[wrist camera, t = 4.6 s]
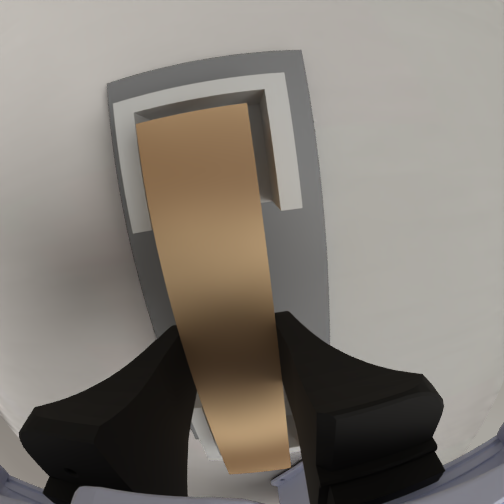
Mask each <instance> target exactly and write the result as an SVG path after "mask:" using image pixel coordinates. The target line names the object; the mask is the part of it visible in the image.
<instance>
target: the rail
mask: <svg viewBox="0 0 504 504" xmlns="http://www.w3.org/2000/svg"><path fill="white" fill-rule="evenodd" d="M136 131H137V139H138V146H139V153H140V160H141V166H142V172H143V178H144V184H145V190H146V196H147V201H148V207H149V212H150V217H151V222H152V227H153V232H154V236H155V241H156V246H157V250H158V255H159V259H160V263H161V267H162V272H163V276H164V280H165V284H166V288H167V292H168V296H169V299H170V303H171V307H172V311H173V314H174V318H175V321H176V325H177V328H178V332H179V335H180V339H181V342H182V345H183V349H184V352H185V355H186V358H187V361H188V365H189V368H190V371H191V374H192V377H193V380H194V383H195V386H196V389H197V392H198V395H199V398H200V401H201V403H202V406H203V409H204V412H205V415H206V417H207V420H208V423H209V425H210V428H211V431H212V433H213V436H214V438H215V441H216V443H217V446H218V448H219V451H220V453H221V456H222V458H223V461H224V463H225V465H226V468H227V470H228V472H229V474H242V473H253V472H263V471H272V470H279V469H286V468H291V462H290V452H289V442H288V432H287V422H286V412H285V403H284V393H283V384H282V376H281V366H280V357H279V348H278V339H277V331H276V322H275V313H274V305H273V297H272V288H271V280H270V272H269V264H268V256H267V248H266V240H265V232H264V224H263V216H262V209H261V201H260V193H259V186H258V179H257V171H256V164H255V156H254V149H253V142H252V135H251V128H250V121H249V114H248V107H247V103H242V104H235V105H228V106H221V107H214V108H208V109H203V110H197V111H192V112H186V113H181V114H176V115H172V116H167V117H163V118H158V119H154V120H150V121H146V122H142V123H138V124H136Z"/></svg>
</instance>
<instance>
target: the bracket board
mask: <svg viewBox="0 0 504 504" xmlns="http://www.w3.org/2000/svg"><path fill="white" fill-rule="evenodd" d="M107 93H108V106H109V117H110V126H111V135H112V143H113V151H114V158H115V165H116V171H117V178H118V184H119V190H120V195H121V201H122V206H123V211H124V216H125V221H126V226H127V230H128V235H129V239H130V244H131V248H132V252H133V257H134V261H135V265H136V269H137V273H138V276H139V280H140V284H141V288H142V291H143V295H144V298H145V302H146V305H147V309H148V312H149V315H150V319H151V322H152V325H153V328H154V331H155V335H156V338H157V339H158V338H159V337H160V336H161V335H162V334H163V333H164V332H165V331H166V330H167V329H168V328H170V327H171V326H172V325H176V321H175V318H174V314H173V311H172V307H171V303H170V299H169V296H168V292H167V288H166V284H165V280H164V276H163V272H162V267H161V263H160V259H159V255H158V250H157V246H156V241H155V236H154V232H153V227H152V222H151V217H150V212H149V207H148V201H147V196H146V190H145V184H144V178H143V172H142V166H141V160H140V153H139V146H138V139H137V131H136V124H138V123H142V122H146V121H150V120H154V119H158V118H163V117H167V116H172V115H176V114H181V113H186V112H192V111H197V110H203V109H208V108H214V107H221V106H228V105H235V104H242V103H247V107H248V114H249V121H250V128H251V135H252V142H253V149H254V156H255V164H256V171H257V179H258V186H259V193H260V201H261V209H262V216H263V224H264V232H265V240H266V248H267V256H268V264H269V272H270V280H271V288H272V297H273V305H274V313H276V312H283V311H289V312H290V313H292V314H293V315H294V317H295V318H296V319H297V320H299V321H300V322H301V323H302V324H303V325H304V326H305V327H306V328H307V329H309V330H310V331H311V332H312V333H313V334H315V335H316V336H317V337H319V338H320V339H321V340H323V341H324V342H326V343H327V344H329V345H330V315H329V285H328V264H327V247H326V233H325V220H324V208H323V197H322V187H321V177H320V168H319V160H318V151H317V143H316V136H315V129H314V121H313V115H312V108H311V102H310V95H309V89H308V83H307V78H306V72H305V66H304V61H303V56H302V51H301V50H285V51H268V52H256V53H246V54H237V55H229V56H222V57H215V58H209V59H203V60H197V61H192V62H187V63H182V64H177V65H173V66H168V67H164V68H160V69H156V70H152V71H148V72H144V73H140V74H137V75H133V76H130V77H127V78H123V79H120V80H117V81H114V82H111V83H108V84H107ZM282 384H283V383H282ZM283 393H284V403H285V412H286V422H287V432H288V442H289V452H290V453H293V452H299V451H301V450H300V445H299V440H298V434H297V429H296V425H295V421H294V418H293V415H292V412H291V408H290V405H289V402H288V399H287V396H286V392H285V389H284V386H283ZM190 427H191V430H192V432H193V434H194V436H195V439H199V440H200V442H201V444H202V447H203V449H204V451H205V453H206V455H207V458H208V460H209V461H214V460H223V458H222V456H221V453H220V451H219V448H218V446H217V443H216V441H215V438H214V436H213V433H212V431H211V428H210V425H209V423H208V420H207V417H206V415H205V412H204V409H203V406H202V403H201V401H200V398H199V395H198V392H197V395H196V400H195V405H194V410H193V416H192V421H191V426H190Z"/></svg>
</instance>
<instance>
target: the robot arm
mask: <svg viewBox="0 0 504 504" xmlns="http://www.w3.org/2000/svg"><path fill="white" fill-rule="evenodd" d="M275 322H276V331H277V339H278V348H279V357H280V366H281V376H282V383H283V386H284V389H285V392H286V396H287V399H288V402H289V405H290V408H291V412H292V415H293V418H294V421H295V425H296V429H297V434H298V440H299V445H300V450H301V456H302V462H300V463H299V464H297V465H296V466H294V467H292V468H291V469H289V470H288V471H286V472H285V473H283V474H281V475H280V476H278V477H276V478H275V479H273V480H272V481H271V485H273V486H277V487H278V494H279V502H280V504H504V423H503V424H502V426H501V427H500V429H499V431H498V433H497V435H496V436H495V437H493V438H492V439H490V440H488V441H487V442H485V443H483V444H482V445H480V446H478V447H477V448H475V449H473V450H471V451H470V452H468V453H466V454H464V455H462V456H461V457H459V458H457V459H455V460H453V461H451V462H449V463H447V464H445V465H442V463H441V462H440V460H439V458H438V456H437V455H436V453H435V451H436V450H437V444H436V442H435V441H434V439H433V434H434V432H435V430H436V428H437V425H438V423H439V420H440V418H441V415H442V412H443V408H444V404H443V399H442V398H441V396H440V395H439V394H438V392H437V391H436V389H435V388H434V387H433V385H432V384H431V383H430V382H429V381H428V380H427V378H426V377H425V376H424V375H423V374H417V373H410V372H403V371H396V370H392V369H388V368H384V367H380V366H376V365H373V364H370V363H367V362H364V361H362V360H359V359H356V358H354V357H352V356H349V355H347V354H345V353H343V352H341V351H339V350H337V349H336V348H334V347H332V346H330V345H329V344H327V343H326V342H324V341H323V340H321V339H320V338H319V337H317V336H316V335H315V334H313V333H312V332H311V331H310V330H309V329H307V328H306V327H305V326H304V325H303V324H302V323H301V322H300V321H299V320H297V319H296V318H295V317H294V315H293V314H292V313H290V312H289V311H283V312H276V313H275ZM196 395H197V389H196V386H195V383H194V380H193V377H192V374H191V371H190V368H189V365H188V361H187V358H186V355H185V352H184V349H183V345H182V342H181V339H180V335H179V332H178V328H177V325H172V326H171V327H170V328H168V329H167V330H166V331H165V332H164V333H163V334H162V335H161V336H160V337H159V338H158V339H157V340H155V341H154V342H153V343H152V344H151V345H150V346H149V347H148V348H147V349H146V350H145V351H144V352H142V353H141V354H140V355H139V356H138V357H136V358H135V359H134V360H133V361H132V362H130V363H129V364H128V365H127V366H125V367H124V368H122V369H121V370H120V371H118V372H117V373H115V374H114V375H112V376H111V377H109V378H107V379H106V380H104V381H102V382H100V383H98V384H97V385H95V386H93V387H91V388H89V389H87V390H85V391H83V392H80V393H78V394H76V395H73V396H71V397H68V398H66V399H63V400H60V401H56V402H53V403H49V404H46V405H42V406H38V407H35V408H34V409H33V411H32V412H31V414H30V415H29V417H28V419H27V420H26V422H25V423H24V425H23V427H22V428H21V430H20V432H19V438H20V441H21V442H22V445H23V447H24V448H25V449H26V451H27V452H28V454H29V455H30V456H31V457H32V458H33V459H34V460H35V461H36V463H37V464H38V465H39V466H40V467H41V468H42V469H43V470H44V471H45V472H46V473H47V474H48V475H49V476H50V477H49V479H48V481H47V483H46V486H45V488H44V489H42V488H40V487H37V486H34V485H32V484H29V483H27V482H24V481H22V480H20V479H17V478H15V477H13V476H10V475H9V474H8V473H7V472H6V470H5V469H4V468H3V467H2V466H1V465H0V504H264V503H259V502H255V501H250V500H246V499H241V498H221V497H188V494H187V459H188V439H189V432H190V426H191V421H192V416H193V410H194V405H195V400H196Z"/></svg>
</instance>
